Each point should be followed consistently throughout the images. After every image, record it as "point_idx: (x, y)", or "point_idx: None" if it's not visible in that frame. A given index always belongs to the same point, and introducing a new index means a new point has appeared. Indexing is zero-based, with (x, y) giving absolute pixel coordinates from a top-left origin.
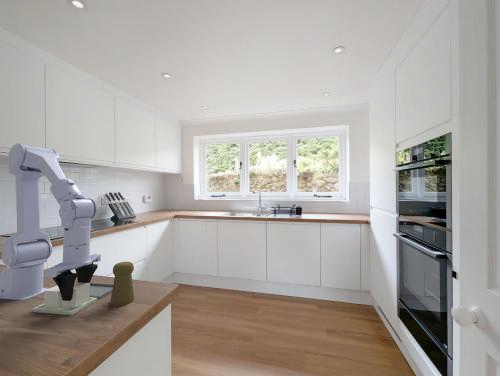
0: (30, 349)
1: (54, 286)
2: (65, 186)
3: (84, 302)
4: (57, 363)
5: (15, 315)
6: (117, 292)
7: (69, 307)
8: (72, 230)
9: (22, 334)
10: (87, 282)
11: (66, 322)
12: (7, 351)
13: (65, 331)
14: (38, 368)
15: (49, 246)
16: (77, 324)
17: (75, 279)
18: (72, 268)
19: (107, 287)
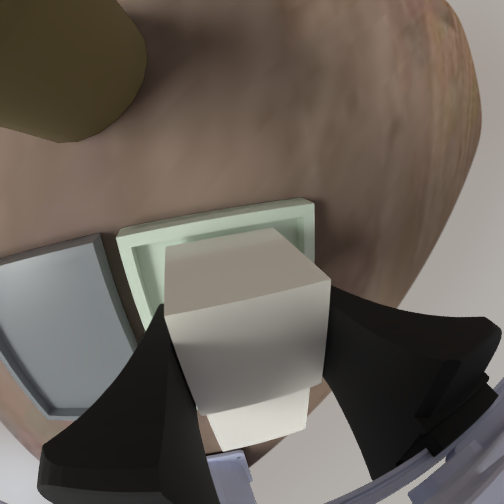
0: (451, 141)
1: (253, 444)
2: None
3: (207, 239)
4: (456, 36)
5: (316, 388)
6: (117, 15)
7: None
8: None
9: (410, 245)
10: (171, 345)
11: (342, 171)
12: (457, 192)
13: (388, 113)
14: (470, 66)
15: None
16: (344, 105)
17: (395, 340)
18: (397, 482)
19: (7, 331)
